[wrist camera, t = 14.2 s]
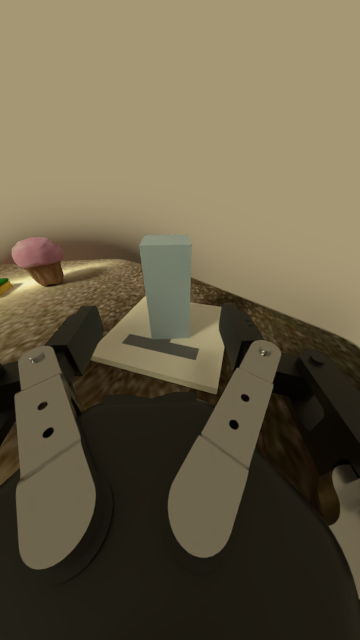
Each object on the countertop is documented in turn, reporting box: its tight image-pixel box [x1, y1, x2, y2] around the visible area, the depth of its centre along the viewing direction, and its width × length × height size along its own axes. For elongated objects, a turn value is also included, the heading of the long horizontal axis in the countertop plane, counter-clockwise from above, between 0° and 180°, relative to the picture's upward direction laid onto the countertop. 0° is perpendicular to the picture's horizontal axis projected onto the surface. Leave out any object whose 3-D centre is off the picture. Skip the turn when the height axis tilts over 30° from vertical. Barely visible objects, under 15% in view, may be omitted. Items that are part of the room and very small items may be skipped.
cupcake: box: [12, 237, 64, 286], centre depth 39 cm, size 9×9×10 cm
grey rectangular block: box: [139, 235, 192, 340], centre depth 23 cm, size 5×5×12 cm
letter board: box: [90, 296, 224, 395], centre depth 26 cm, size 16×16×1 cm
